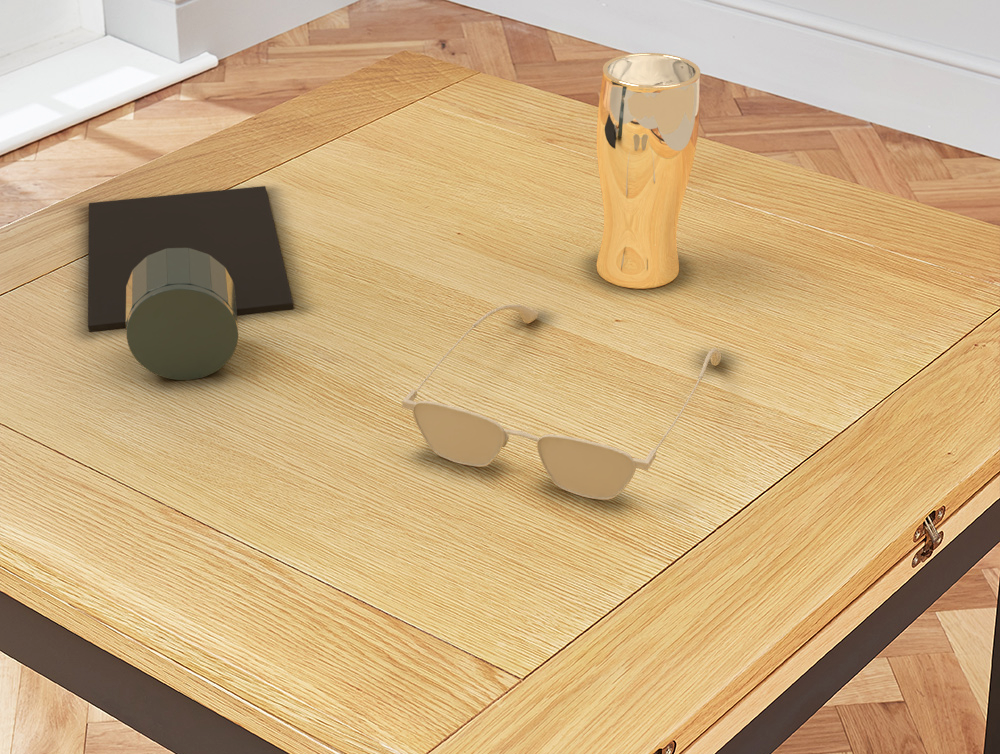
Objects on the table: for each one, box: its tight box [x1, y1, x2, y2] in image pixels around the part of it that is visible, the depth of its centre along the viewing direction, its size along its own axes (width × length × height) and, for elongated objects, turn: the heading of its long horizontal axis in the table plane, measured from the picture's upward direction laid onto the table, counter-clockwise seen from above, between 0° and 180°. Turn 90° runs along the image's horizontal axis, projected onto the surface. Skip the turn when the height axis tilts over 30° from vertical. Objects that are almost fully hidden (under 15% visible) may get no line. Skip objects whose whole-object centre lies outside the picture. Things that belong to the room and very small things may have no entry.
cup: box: [125, 248, 239, 381], centre depth 87 cm, size 7×7×5 cm
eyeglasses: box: [401, 304, 722, 501], centre depth 84 cm, size 15×18×4 cm
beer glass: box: [596, 52, 701, 290], centre depth 95 cm, size 7×7×15 cm
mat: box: [87, 185, 295, 333], centre depth 101 cm, size 20×14×1 cm
